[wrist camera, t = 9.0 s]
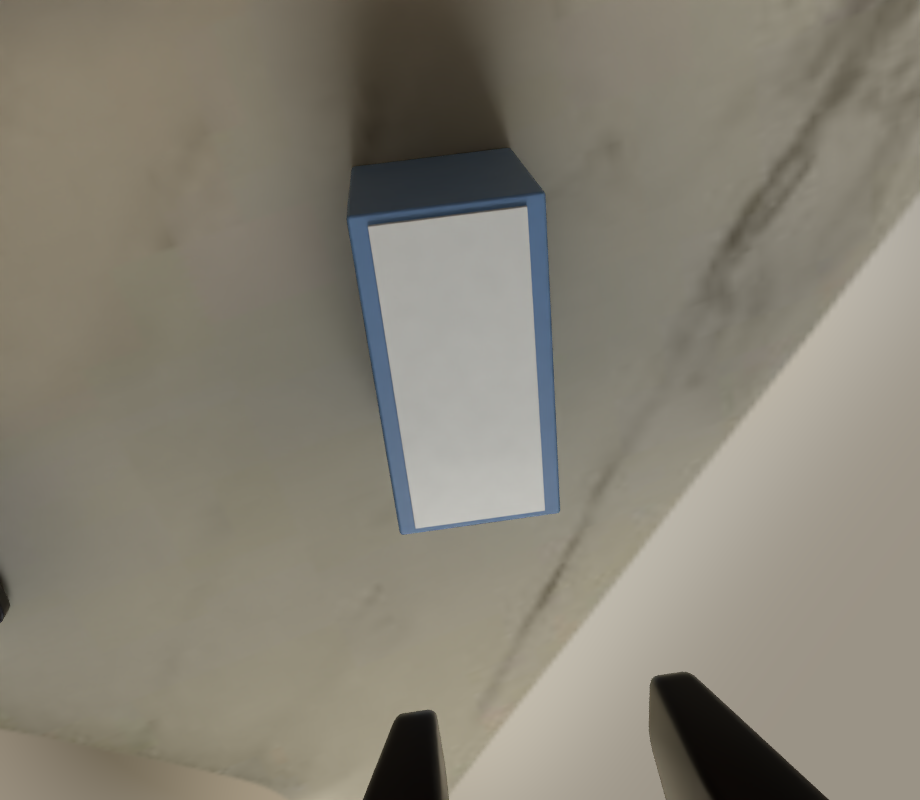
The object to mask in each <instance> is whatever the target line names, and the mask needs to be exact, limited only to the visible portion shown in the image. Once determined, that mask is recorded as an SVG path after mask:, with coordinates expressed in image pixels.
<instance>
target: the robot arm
mask: <svg viewBox="0 0 920 800" xmlns="http://www.w3.org/2000/svg"><path fill="white" fill-rule="evenodd" d="M9 607H10V603H9V600H8V598H7V596H6V594H5V592H4V589H3V587H2V585H1V583H0V623H1V622H2V621H3V619H4V617H5V615H6V614H7V612H8V610H9ZM649 700H650V701H649V735H650V742H651V746H652V751H653V754H654V758H655V762H656V765H657V769H658V772H659V776H660V779H661V783H662V787H663V790H664V794H665V798H666V800H829V799H827V798H826V797H825V796H824V795H823V794H822V793H821V792H820V791H819V790H818V789H817V788H816V787H814V786H813V785H812V784H811V783H810V782H809V781H808V780H807V779H806V778H805V777H804V776H802V775H801V774H800V773H799V772H798V771H797V770H796V769H794V767H793V766H792V765H790V764H789V763H788V762H787V761H786V760H785V759H784V758H783V757H782V756H781V755H780V754H779V753H777V752H776V751H775V750H774V749H773V748H772V747H771V746H770V745H769V744H768V743H766V741H765V740H763V739H762V738H761V737H760V736H759V735H758V734H757V733H756V732H755V731H754V730H753V729H752V728H750V727H749V726H748V725H747V724H746V723H745V722H744V721H743V720H742V719H741V718H740V717H739V716H737V715H736V714H735V713H734V712H733V711H732V710H731V709H730V708H729V707H728V706H727V705H725V704H724V703H723V702H722V701H721V700H720V699H719V698H718V697H717V696H716V695H714V694H713V693H712V692H711V691H710V690H709V689H708V688H707V687H706V686H705V685H704V684H703V683H701V681H699V680H698V679H697V678H696V677H695V676H694V675H692V674H690V673H688V672H678V673H671V674H664V675H658V676H655V677H654V678H653V679H652V680H651V683H650V699H649ZM363 800H449V796H448V786H447V778H446V770H445V762H444V756H443V750H442V744H441V738H440V732H439V726H438V720H437V716H436V713H435V712H434V711H432V710H423V711H416V712H409V713H403V714H400V715H399V716H398V717H397V718H396V719H395V721H394V723H393V725H392V728H391V730H390V733H389V735H388V738H387V740H386V743H385V745H384V748H383V750H382V753H381V755H380V758H379V760H378V763H377V765H376V768H375V770H374V773H373V775H372V778H371V780H370V783H369V785H368V788H367V791H366V793H365V796H364V798H363Z"/></svg>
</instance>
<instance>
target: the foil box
mask: <svg viewBox="0 0 920 800" xmlns="http://www.w3.org/2000/svg"><path fill="white" fill-rule="evenodd" d="M347 225H348V231H349V237H350V243H351V248H352V254H353V260H354V266H355V272H356V278H357V284H358V290H359V295H360V301H361V307H362V313H363V319H364V325H365V331H366V337H367V342H368V348H369V354H370V360H371V366H372V372H373V378H374V384H375V389H376V395H377V401H378V407H379V413H380V419H381V425H382V431H383V436H384V442H385V448H386V454H387V460H388V466H389V472H390V478H391V484H392V489H393V495H394V501H395V507H396V513H397V519H398V525H399V531H400V533H401V534H402V535H404V534H412V533H419V532H426V531H433V530H440V529H447V528H454V527H461V526H469V525H476V524H483V523H490V522H497V521H504V520H511V519H519V518H526V517H533V516H540V515H547V514H554V513H559V511H560V497H559V476H558V455H557V433H556V412H555V391H554V370H553V348H552V327H551V306H550V284H549V263H548V242H547V221H546V199H545V193H544V191H543V190H542V189H541V187H540V186H539V185H538V183H537V182H536V181H535V180H534V178H533V177H532V176H531V174H530V173H529V172H528V171H527V169H526V168H525V167H524V165H523V164H522V163H521V161H520V160H519V159H518V158H517V156H516V155H515V154H514V152H513V151H512V150H511V149H510V148H503V149H495V150H486V151H478V152H470V153H462V154H454V155H445V156H437V157H429V158H421V159H413V160H405V161H396V162H388V163H380V164H372V165H364V166H355V167H353V168H352V170H351V180H350V190H349V199H348V209H347Z"/></svg>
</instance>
